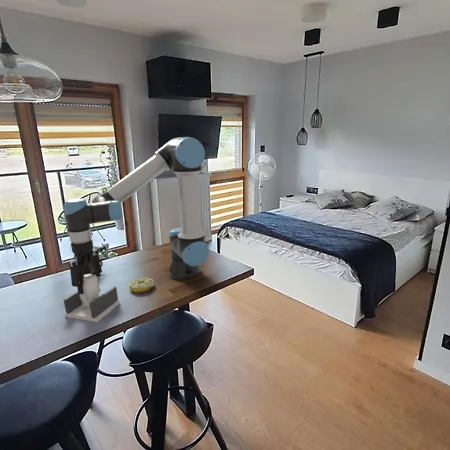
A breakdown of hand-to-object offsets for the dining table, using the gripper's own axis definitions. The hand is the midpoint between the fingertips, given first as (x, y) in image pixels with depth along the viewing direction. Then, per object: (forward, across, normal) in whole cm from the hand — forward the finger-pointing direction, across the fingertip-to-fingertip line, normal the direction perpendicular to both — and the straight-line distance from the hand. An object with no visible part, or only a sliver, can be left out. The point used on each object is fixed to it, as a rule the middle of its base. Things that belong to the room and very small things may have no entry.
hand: (90, 295), depth 124 cm
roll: (+3, 0, 0) cm, 3 cm away
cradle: (+6, 0, 0) cm, 6 cm away
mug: (+6, -27, -24) cm, 37 cm away
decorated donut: (+7, -21, +9) cm, 24 cm away
